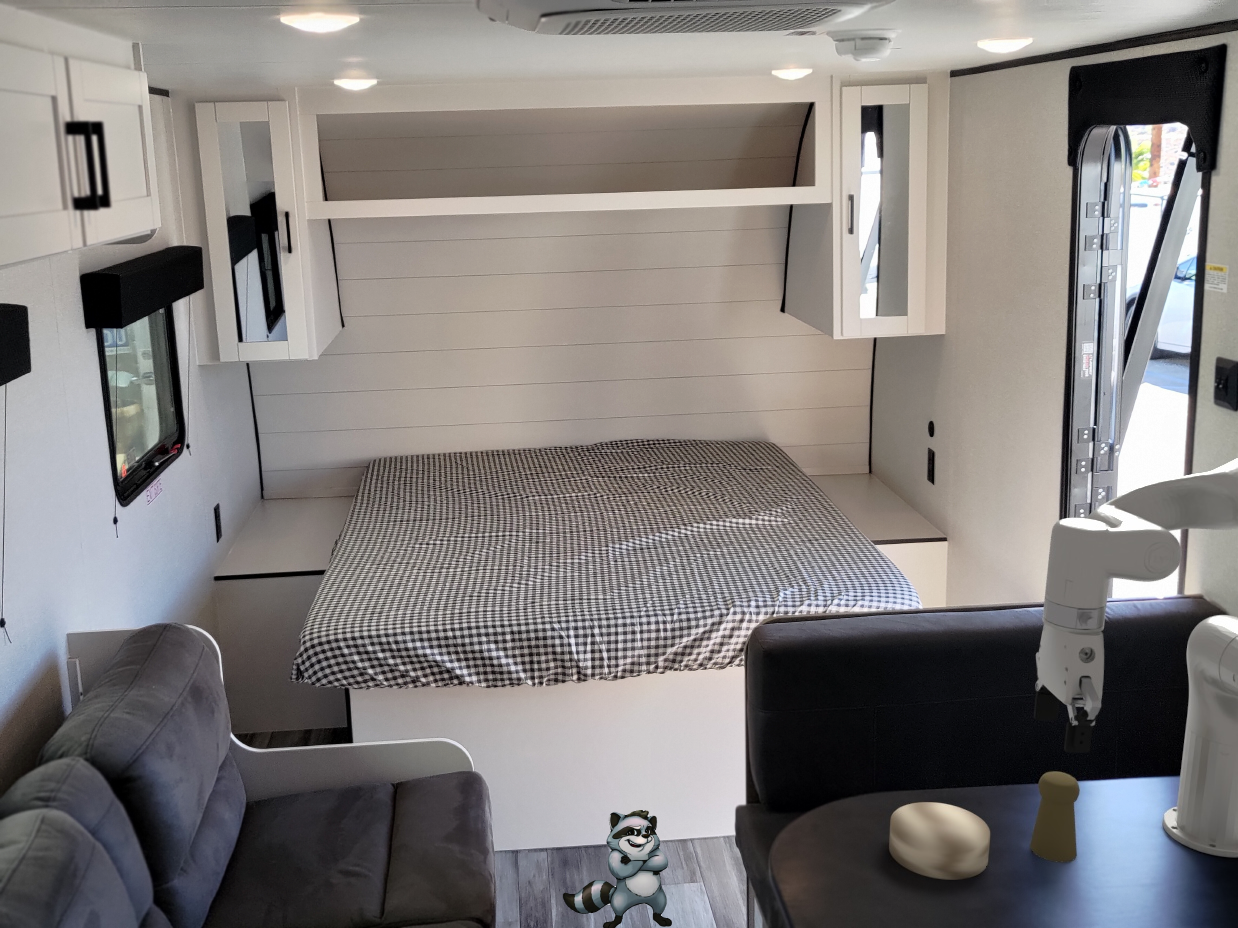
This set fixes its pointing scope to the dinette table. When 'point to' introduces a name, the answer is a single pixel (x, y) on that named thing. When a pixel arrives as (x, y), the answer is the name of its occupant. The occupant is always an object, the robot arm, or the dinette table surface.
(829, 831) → the dinette table surface
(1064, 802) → the olive pawn
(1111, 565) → the robot arm
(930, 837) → the disc
